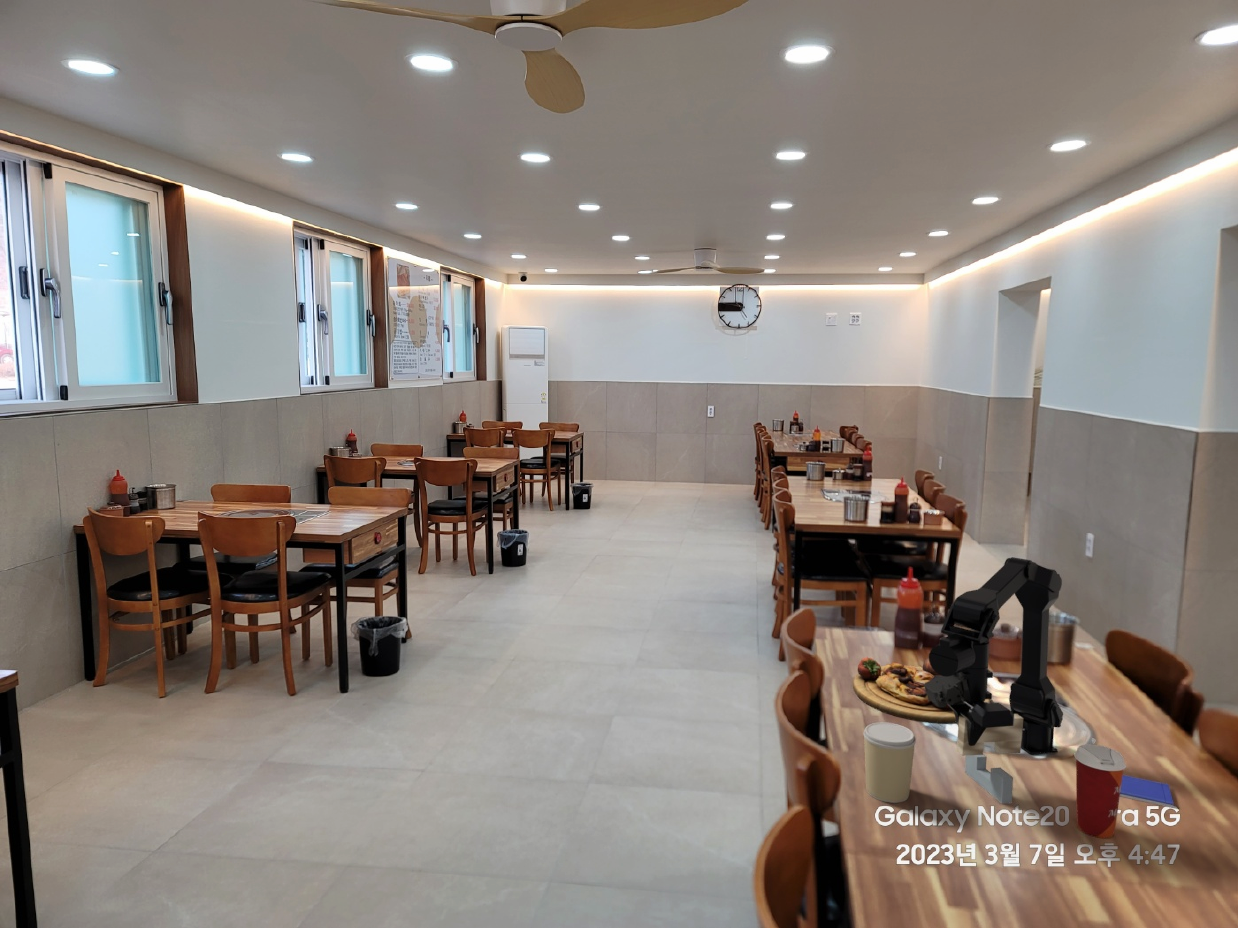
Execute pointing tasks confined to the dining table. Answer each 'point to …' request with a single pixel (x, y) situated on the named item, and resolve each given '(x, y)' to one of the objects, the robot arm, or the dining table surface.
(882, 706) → the wooden plate with food
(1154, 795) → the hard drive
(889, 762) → the coffee cup
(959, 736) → the birch plate
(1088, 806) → the paper cup
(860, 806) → the dining table surface
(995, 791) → the gray u-shaped block
